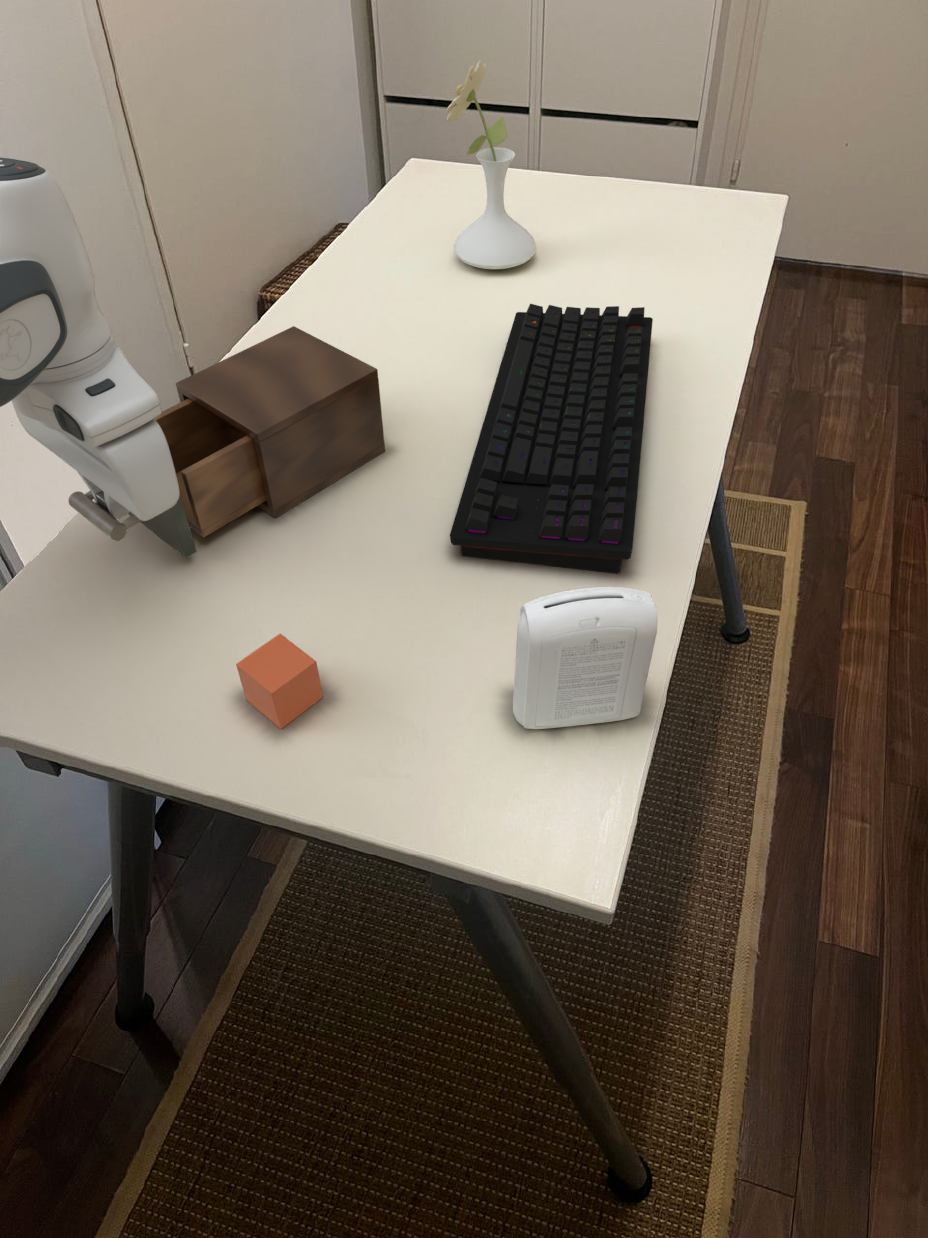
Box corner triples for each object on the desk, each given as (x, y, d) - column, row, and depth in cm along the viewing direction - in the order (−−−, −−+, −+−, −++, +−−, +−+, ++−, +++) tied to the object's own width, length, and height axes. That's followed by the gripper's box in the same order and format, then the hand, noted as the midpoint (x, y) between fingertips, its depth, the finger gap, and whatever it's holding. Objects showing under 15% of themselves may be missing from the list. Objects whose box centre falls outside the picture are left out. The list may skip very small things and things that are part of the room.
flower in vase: (494, 233, 134) (495, 36, 116) (552, 258, 128) (563, 53, 110) (428, 263, 128) (418, 59, 110) (486, 290, 122) (486, 79, 104)
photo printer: (633, 679, 75) (653, 567, 66) (647, 721, 72) (670, 609, 63) (508, 694, 74) (511, 582, 65) (517, 737, 71) (522, 626, 62)
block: (280, 729, 72) (271, 693, 69) (246, 700, 74) (235, 663, 71) (323, 697, 74) (316, 661, 71) (288, 669, 76) (280, 632, 73)
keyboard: (515, 332, 114) (516, 293, 111) (649, 342, 112) (654, 303, 109) (449, 559, 86) (448, 517, 82) (627, 579, 83) (634, 537, 80)
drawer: (139, 586, 82) (114, 517, 77) (70, 529, 88) (42, 461, 82) (300, 489, 92) (288, 422, 86) (229, 444, 97) (213, 377, 92)
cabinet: (275, 518, 90) (257, 434, 83) (197, 465, 96) (174, 382, 89) (385, 451, 97) (377, 368, 90) (306, 406, 104) (293, 325, 97)
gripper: (-35, 344, 77) (24, 478, 87) (98, 439, 67) (148, 578, 77) (35, 316, 80) (84, 448, 90) (171, 403, 70) (210, 541, 80)
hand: (114, 509), depth 83 cm, fingers closed
